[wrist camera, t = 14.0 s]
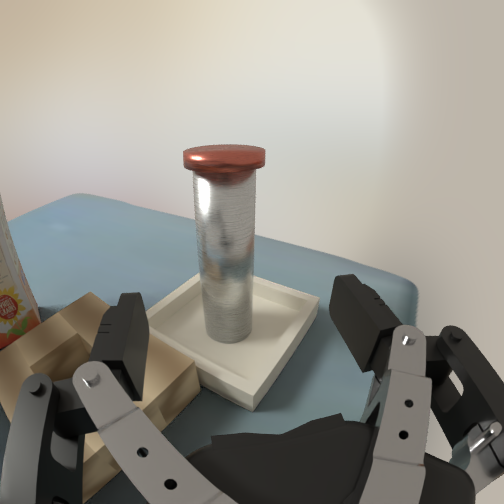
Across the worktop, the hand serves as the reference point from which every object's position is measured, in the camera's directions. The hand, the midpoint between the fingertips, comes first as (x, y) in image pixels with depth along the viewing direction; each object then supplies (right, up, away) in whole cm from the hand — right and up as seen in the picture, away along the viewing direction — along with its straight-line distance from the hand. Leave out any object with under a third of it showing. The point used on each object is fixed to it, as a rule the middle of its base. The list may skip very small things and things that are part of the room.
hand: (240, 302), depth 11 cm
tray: (-2, -6, +15) cm, 17 cm away
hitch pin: (-2, -5, +15) cm, 16 cm away
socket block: (-13, -10, +7) cm, 18 cm away
